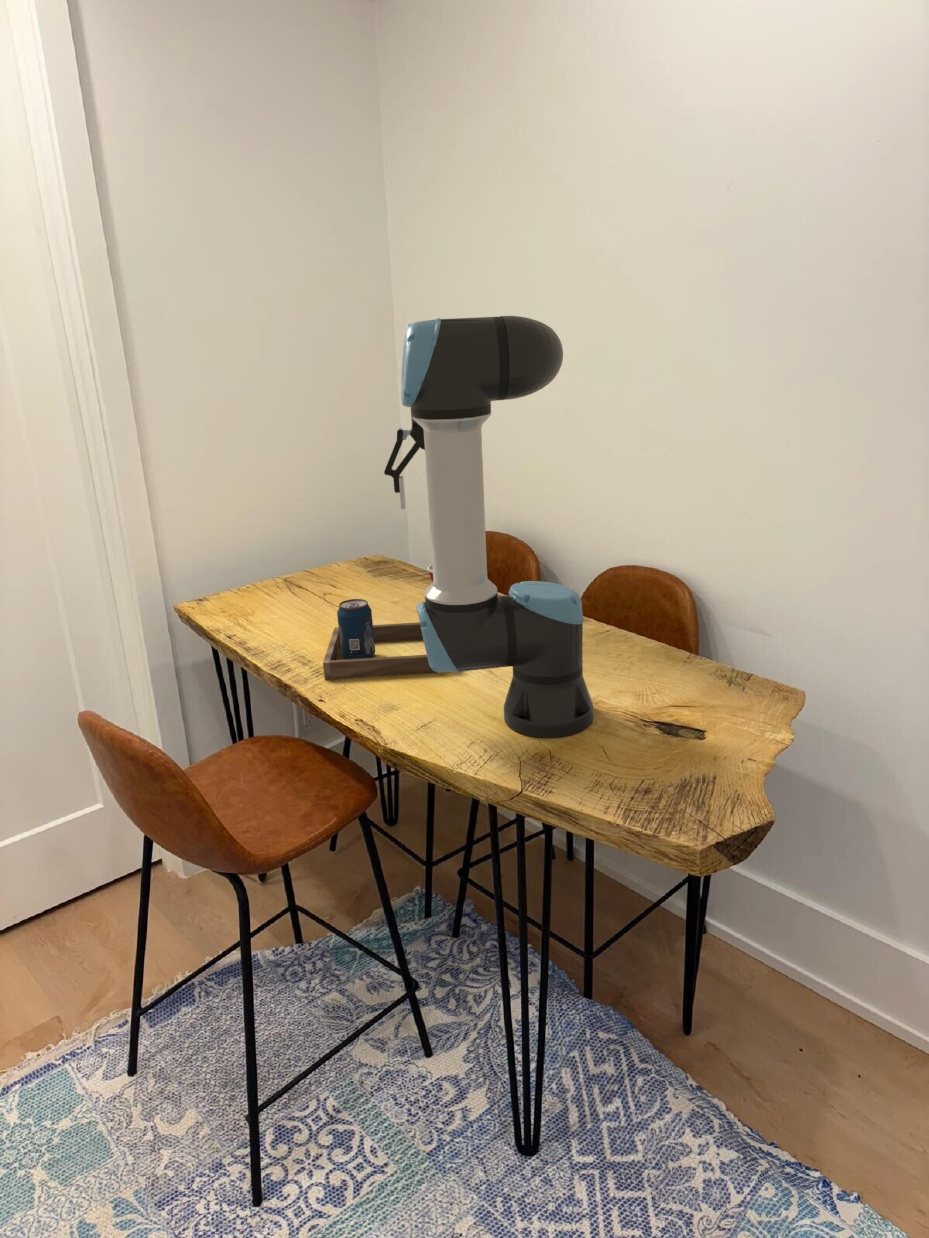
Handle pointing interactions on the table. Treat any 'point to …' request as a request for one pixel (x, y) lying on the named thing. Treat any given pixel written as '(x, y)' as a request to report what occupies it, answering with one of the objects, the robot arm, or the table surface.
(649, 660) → the table surface
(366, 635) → the soda can
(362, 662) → the walnut tray frame
